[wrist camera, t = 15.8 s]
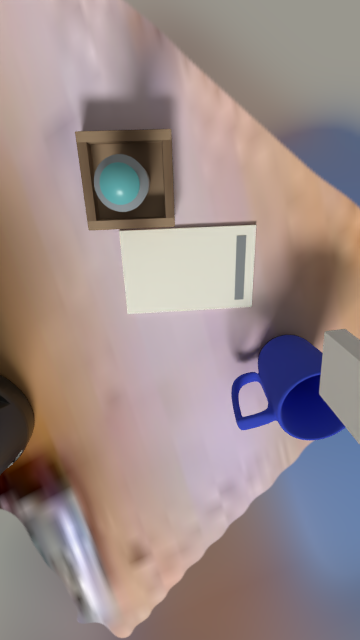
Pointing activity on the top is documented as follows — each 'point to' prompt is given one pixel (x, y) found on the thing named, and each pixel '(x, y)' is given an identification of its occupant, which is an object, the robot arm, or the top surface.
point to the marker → (121, 182)
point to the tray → (151, 155)
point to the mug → (289, 390)
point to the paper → (188, 268)
